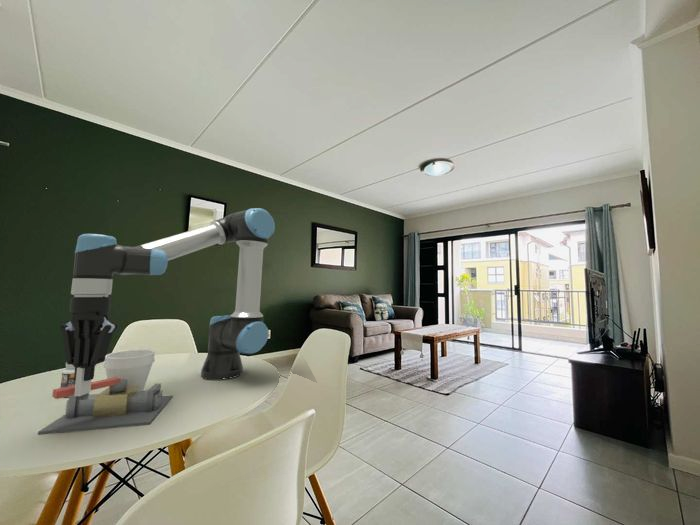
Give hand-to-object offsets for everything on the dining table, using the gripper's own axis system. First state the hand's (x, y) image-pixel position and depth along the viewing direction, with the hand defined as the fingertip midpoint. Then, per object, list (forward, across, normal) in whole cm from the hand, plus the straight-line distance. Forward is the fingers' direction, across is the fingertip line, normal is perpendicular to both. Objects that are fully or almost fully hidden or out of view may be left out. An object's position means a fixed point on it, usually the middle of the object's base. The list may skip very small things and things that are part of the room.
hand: (82, 394), depth 68 cm
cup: (+8, +3, -18) cm, 20 cm away
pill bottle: (+7, +22, -19) cm, 30 cm away
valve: (+8, -2, -8) cm, 12 cm away
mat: (+8, -2, -8) cm, 12 cm away
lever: (+2, +1, -4) cm, 4 cm away
